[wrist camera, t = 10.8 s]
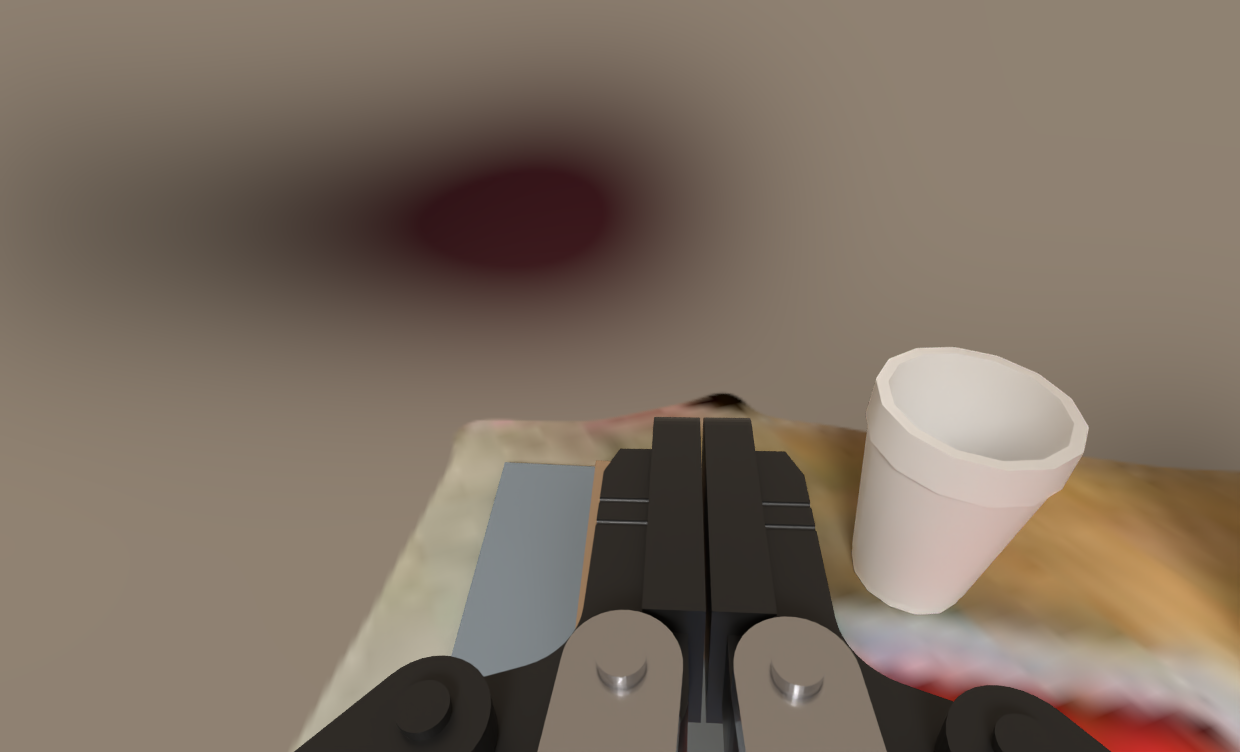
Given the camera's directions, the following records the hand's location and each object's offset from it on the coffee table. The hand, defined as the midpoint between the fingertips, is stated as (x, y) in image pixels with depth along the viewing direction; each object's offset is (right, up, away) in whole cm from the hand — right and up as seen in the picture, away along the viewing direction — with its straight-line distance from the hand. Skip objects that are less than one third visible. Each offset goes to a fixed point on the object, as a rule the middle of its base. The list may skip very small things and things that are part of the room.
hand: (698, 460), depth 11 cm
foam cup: (+16, -10, +29) cm, 35 cm away
